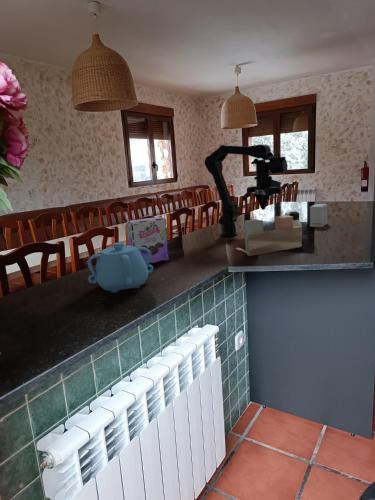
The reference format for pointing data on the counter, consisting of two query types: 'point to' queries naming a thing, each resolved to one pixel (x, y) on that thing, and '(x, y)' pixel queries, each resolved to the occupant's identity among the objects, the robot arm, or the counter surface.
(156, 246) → the candy box
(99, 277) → the decorative pot
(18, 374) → the counter surface
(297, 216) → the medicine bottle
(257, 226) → the sage block
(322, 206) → the skincare box
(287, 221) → the terracotta block
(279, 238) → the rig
